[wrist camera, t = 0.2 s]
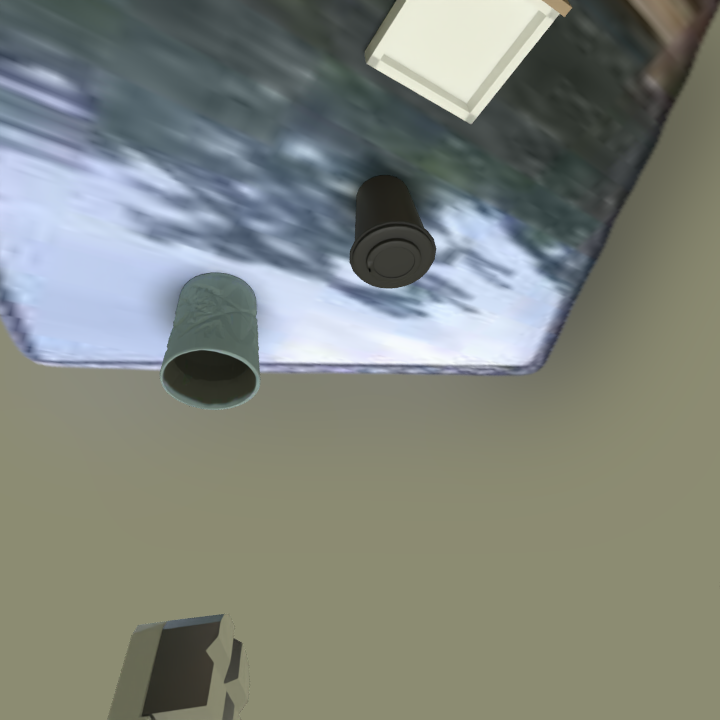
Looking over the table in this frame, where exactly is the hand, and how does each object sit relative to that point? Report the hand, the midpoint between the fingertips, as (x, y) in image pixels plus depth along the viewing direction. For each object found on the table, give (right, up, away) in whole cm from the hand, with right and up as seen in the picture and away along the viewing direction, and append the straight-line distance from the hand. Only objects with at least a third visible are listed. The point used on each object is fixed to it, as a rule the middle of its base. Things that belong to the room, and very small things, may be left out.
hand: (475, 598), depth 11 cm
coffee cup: (0, +21, +57) cm, 60 cm away
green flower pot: (-18, +11, +66) cm, 69 cm away
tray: (+6, +31, +44) cm, 55 cm away
